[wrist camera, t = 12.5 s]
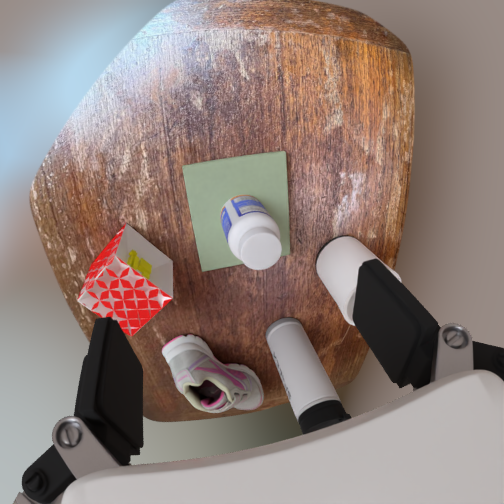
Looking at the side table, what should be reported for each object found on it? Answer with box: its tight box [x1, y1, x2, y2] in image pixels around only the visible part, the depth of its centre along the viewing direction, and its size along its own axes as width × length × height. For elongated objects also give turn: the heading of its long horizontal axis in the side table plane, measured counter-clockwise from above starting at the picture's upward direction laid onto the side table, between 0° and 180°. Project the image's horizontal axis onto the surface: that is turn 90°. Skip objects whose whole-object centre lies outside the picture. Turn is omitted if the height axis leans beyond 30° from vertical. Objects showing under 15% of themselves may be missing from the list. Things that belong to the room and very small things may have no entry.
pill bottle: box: [220, 194, 282, 270], centre depth 32 cm, size 5×5×10 cm
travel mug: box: [266, 318, 351, 435], centre depth 41 cm, size 6×7×20 cm
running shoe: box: [162, 334, 264, 413], centre depth 46 cm, size 9×22×10 cm, turn 40°
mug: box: [315, 236, 401, 326], centre depth 40 cm, size 11×9×10 cm
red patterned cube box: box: [77, 223, 173, 337], centre depth 34 cm, size 8×8×8 cm
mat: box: [182, 151, 290, 272], centre depth 37 cm, size 14×12×1 cm
